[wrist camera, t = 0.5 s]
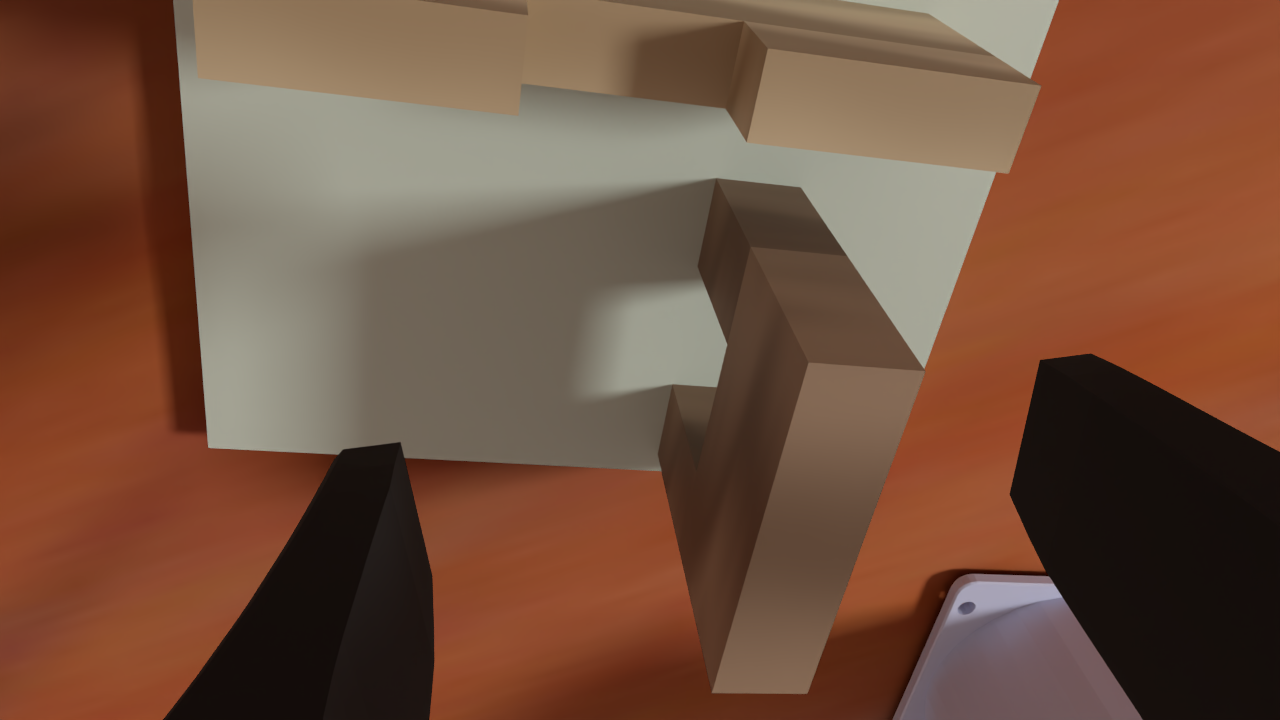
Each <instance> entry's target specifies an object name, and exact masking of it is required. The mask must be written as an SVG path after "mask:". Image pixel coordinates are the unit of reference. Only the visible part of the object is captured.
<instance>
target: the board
mask: <svg viewBox="0 0 1280 720" xmlns="http://www.w3.org/2000/svg"><path fill="white" fill-rule="evenodd" d="M841 1H847V2H854V3H861V4H867V5H874V6H881V7H888V8H894V9H901V10H908V11H914V12H921V13H928V14H930V15H931V16H933V17H935V18H936V19H938V20H939V21H941V22H942V23H944V24H946V25H947V26H949V27H950V28H952V29H953V30H955V31H956V32H958V33H960V34H961V35H963V36H964V37H966V38H967V39H969V40H970V41H972V42H974V43H975V44H977V45H978V46H980V47H981V48H983V49H985V50H986V51H988V52H989V53H991V54H992V55H994V56H995V57H997V58H999V59H1000V60H1002V61H1003V62H1005V63H1006V64H1008V65H1010V66H1011V67H1013V68H1014V69H1016V70H1017V71H1019V72H1020V73H1022V74H1024V75H1025V76H1027V77H1028V78H1031V75H1032V72H1033V70H1034V67H1035V64H1036V61H1037V59H1038V56H1039V53H1040V50H1041V48H1042V45H1043V42H1044V40H1045V37H1046V34H1047V31H1048V29H1049V26H1050V23H1051V20H1052V18H1053V15H1054V12H1055V9H1056V7H1057V4H1058V1H1059V0H841ZM173 5H174V17H175V30H176V43H177V56H178V68H179V81H180V94H181V106H182V119H183V132H184V145H185V157H186V170H187V183H188V196H189V208H190V221H191V234H192V246H193V259H194V272H195V285H196V297H197V310H198V323H199V335H200V348H201V361H202V374H203V386H204V399H205V412H206V425H207V437H208V448H221V449H240V450H260V451H279V452H299V453H318V454H339V453H340V452H341V451H342V450H343V449H350V448H358V447H365V446H373V445H381V444H389V443H397V442H401V446H402V450H403V454H404V458H416V459H435V460H455V461H474V462H494V463H513V464H533V465H553V466H572V467H592V468H611V469H631V470H650V471H661V467H660V463H659V458H658V450H659V445H660V441H661V436H662V431H663V426H664V422H665V417H666V412H667V408H668V403H669V398H670V393H671V389H672V384H677V385H691V386H706V387H717V385H718V381H719V377H720V372H721V368H722V364H723V360H724V356H725V352H726V347H727V343H726V340H725V337H724V335H723V332H722V329H721V327H720V324H719V322H718V319H717V316H716V314H715V311H714V309H713V306H712V303H711V301H710V298H709V295H708V293H707V290H706V288H705V285H704V282H703V280H702V277H701V275H700V272H699V269H698V267H697V266H698V262H699V257H700V252H701V247H702V243H703V238H704V233H705V229H706V224H707V219H708V214H709V210H710V205H711V200H712V196H713V191H714V186H715V181H716V178H720V179H729V180H739V181H748V182H757V183H766V184H775V185H784V186H793V187H801V188H802V190H803V191H804V193H805V194H806V196H807V197H808V199H809V200H810V202H811V203H812V205H813V206H814V208H815V209H816V211H817V212H818V213H819V215H820V216H821V218H822V219H823V221H824V222H825V224H826V225H827V227H828V228H829V230H830V231H831V233H832V234H833V236H834V237H835V239H836V240H837V241H838V243H839V244H840V246H841V247H842V249H843V250H844V252H845V253H846V255H847V256H848V258H849V259H850V261H851V262H852V264H853V265H854V267H855V268H856V270H857V271H858V272H859V274H860V275H861V277H862V278H863V280H864V281H865V283H866V284H867V286H868V287H869V289H870V290H871V292H872V293H873V295H874V296H875V298H876V299H877V300H878V302H879V303H880V305H881V306H882V308H883V309H884V311H885V312H886V314H887V315H888V317H889V318H890V320H891V321H892V323H893V324H894V326H895V327H896V329H897V330H898V331H899V333H900V334H901V336H902V337H903V339H904V340H905V342H906V343H907V345H908V346H909V348H910V349H911V351H912V352H913V354H914V355H915V357H916V358H917V359H918V361H919V362H920V364H921V365H922V367H923V368H925V366H926V363H927V360H928V357H929V355H930V352H931V349H932V346H933V344H934V341H935V338H936V335H937V333H938V330H939V327H940V324H941V322H942V319H943V316H944V313H945V311H946V308H947V305H948V303H949V300H950V297H951V294H952V292H953V289H954V286H955V283H956V281H957V278H958V275H959V272H960V270H961V267H962V264H963V261H964V259H965V256H966V253H967V250H968V248H969V245H970V242H971V240H972V237H973V234H974V231H975V229H976V226H977V223H978V220H979V218H980V215H981V212H982V209H983V207H984V204H985V201H986V198H987V196H988V193H989V190H990V187H991V185H992V182H993V179H994V177H995V174H996V172H992V171H983V170H975V169H966V168H958V167H949V166H941V165H932V164H924V163H915V162H907V161H898V160H890V159H881V158H873V157H864V156H856V155H847V154H839V153H830V152H822V151H813V150H805V149H796V148H788V147H779V146H771V145H762V144H754V143H747V142H746V141H745V139H744V137H743V136H742V134H741V133H740V131H739V129H738V128H737V126H736V125H735V123H734V121H733V120H732V118H731V116H730V115H729V113H728V112H727V110H726V109H724V108H716V107H708V106H699V105H691V104H683V103H675V102H667V101H659V100H651V99H643V98H635V97H627V96H619V95H611V94H603V93H595V92H586V91H578V90H570V89H562V88H554V87H546V86H538V85H530V84H522V85H521V95H520V105H519V115H518V116H516V115H507V114H499V113H490V112H482V111H473V110H465V109H456V108H448V107H439V106H431V105H422V104H414V103H405V102H397V101H388V100H380V99H371V98H363V97H354V96H346V95H337V94H329V93H320V92H312V91H303V90H295V89H286V88H278V87H269V86H261V85H252V84H244V83H235V82H227V81H218V80H210V79H201V78H198V73H197V58H196V44H195V29H194V15H193V0H173Z"/></svg>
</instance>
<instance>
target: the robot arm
mask: <svg viewBox="0 0 1280 720" xmlns="http://www.w3.org/2000/svg"><path fill="white" fill-rule="evenodd" d="M1010 496H1011V498H1012V501H1013V503H1014V505H1015V507H1016V510H1017V512H1018V514H1019V516H1020V518H1021V521H1022V523H1023V525H1024V527H1025V530H1026V532H1027V534H1028V536H1029V538H1030V540H1031V542H1032V544H1033V546H1034V548H1035V550H1036V552H1037V554H1038V556H1039V558H1040V561H1041V563H1042V565H1043V567H1044V569H1045V570H1046V572H1047V574H1048V575H1049V576H1025V575H995V574H966V575H964V576H961V577H959V578H958V579H957V580H955V582H954V583H953V584H952V586H951V588H950V590H949V592H948V595H947V597H946V599H945V601H944V604H943V606H942V608H941V611H940V613H939V615H938V617H937V620H936V622H935V624H934V626H933V629H932V631H931V633H930V636H929V638H928V640H927V642H926V645H925V647H924V649H923V651H922V654H921V656H920V658H919V661H918V663H917V665H916V667H915V670H914V672H913V674H912V676H911V679H910V681H909V683H908V686H907V688H906V690H905V692H904V695H903V697H902V699H901V701H900V704H899V706H898V708H897V710H896V713H895V715H894V717H893V720H1280V452H1279V451H1277V450H1275V449H1273V448H1271V447H1269V446H1267V445H1265V444H1263V443H1262V442H1260V441H1258V440H1256V439H1254V438H1252V437H1250V436H1248V435H1246V434H1245V433H1243V432H1241V431H1239V430H1237V429H1235V428H1233V427H1231V426H1230V425H1228V424H1226V423H1224V422H1222V421H1220V420H1218V419H1217V418H1215V417H1213V416H1211V415H1209V414H1207V413H1205V412H1204V411H1202V410H1200V409H1198V408H1196V407H1194V406H1193V405H1191V404H1189V403H1187V402H1185V401H1183V400H1181V399H1180V398H1178V397H1176V396H1174V395H1172V394H1170V393H1168V392H1167V391H1165V390H1163V389H1161V388H1159V387H1157V386H1155V385H1153V384H1152V383H1150V382H1148V381H1146V380H1144V379H1142V378H1140V377H1138V376H1136V375H1134V374H1132V373H1130V372H1129V371H1127V370H1125V369H1123V368H1121V367H1119V366H1117V365H1114V364H1112V363H1110V362H1108V361H1106V360H1104V359H1102V358H1099V357H1097V356H1095V355H1093V354H1084V355H1076V356H1068V357H1061V358H1053V359H1045V360H1040V363H1039V367H1038V372H1037V376H1036V381H1035V385H1034V389H1033V394H1032V398H1031V403H1030V407H1029V411H1028V416H1027V420H1026V425H1025V429H1024V434H1023V438H1022V442H1021V447H1020V451H1019V456H1018V460H1017V464H1016V469H1015V473H1014V478H1013V482H1012V487H1011V491H1010ZM963 603H964V604H963ZM433 671H434V617H433V583H432V573H431V569H430V564H429V560H428V556H427V552H426V547H425V543H424V539H423V535H422V530H421V526H420V522H419V518H418V513H417V509H416V505H415V501H414V497H413V492H412V488H411V484H410V480H409V475H408V471H407V467H406V463H405V458H404V454H403V450H402V446H401V442H397V443H389V444H381V445H373V446H365V447H358V448H350V449H343V450H342V451H341V452H340V453H339V454H338V456H337V457H336V458H335V459H334V461H333V463H332V464H331V466H330V468H329V470H328V472H327V474H326V476H325V477H324V479H323V481H322V483H321V485H320V487H319V488H318V490H317V492H316V494H315V496H314V497H313V499H312V501H311V503H310V504H309V506H308V508H307V510H306V511H305V513H304V515H303V517H302V518H301V520H300V522H299V523H298V525H297V527H296V528H295V530H294V532H293V534H292V535H291V537H290V539H289V540H288V542H287V544H286V545H285V547H284V549H283V550H282V552H281V553H280V555H279V556H278V558H277V560H276V561H275V563H274V564H273V566H272V567H271V569H270V571H269V572H268V574H267V575H266V577H265V578H264V580H263V582H262V583H261V585H260V586H259V588H258V589H257V591H256V593H255V594H254V596H253V597H252V599H251V600H250V602H249V603H248V605H247V606H246V608H245V609H244V611H243V612H242V614H241V615H240V617H239V618H238V619H237V621H236V622H235V624H234V625H233V626H232V628H231V629H230V631H229V632H228V633H227V635H226V636H225V638H224V639H223V640H222V642H221V643H220V645H219V646H218V647H217V649H216V650H215V652H214V653H213V654H212V656H211V657H210V659H209V660H208V661H207V663H206V664H205V665H204V667H203V668H202V670H201V671H200V672H199V674H198V675H197V677H196V678H195V679H194V681H193V682H192V683H191V685H190V686H189V687H188V688H187V690H186V691H185V692H184V694H183V695H182V696H181V697H180V699H179V700H178V701H177V703H176V704H175V705H174V706H173V708H172V709H171V710H170V712H169V713H168V714H167V715H166V717H165V718H164V719H163V720H429V716H430V705H431V694H432V683H433Z"/></svg>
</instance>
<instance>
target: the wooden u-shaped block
mask: <svg viewBox="0 0 1280 720" xmlns="http://www.w3.org/2000/svg"><path fill="white" fill-rule="evenodd" d="M193 15H194V29H195V44H196V58H197V73H198V78H201V79H210V80H218V81H227V82H235V83H244V84H252V85H261V86H269V87H278V88H286V89H295V90H303V91H312V92H320V93H329V94H337V95H346V96H354V97H363V98H371V99H380V100H388V101H397V102H405V103H414V104H422V105H431V106H439V107H448V108H456V109H465V110H473V111H482V112H490V113H499V114H507V115H516V116H518V115H519V105H520V95H521V85H522V84H530V85H538V86H546V87H554V88H562V89H570V90H578V91H586V92H595V93H603V94H611V95H619V96H627V97H635V98H643V99H651V100H659V101H667V102H675V103H683V104H691V105H699V106H708V107H716V108H724V109H726V110H727V112H728V113H729V115H730V116H731V118H732V120H733V121H734V123H735V125H736V126H737V128H738V129H739V131H740V133H741V134H742V136H743V137H744V139H745V141H746V142H747V143H754V144H762V145H771V146H779V147H788V148H796V149H805V150H813V151H822V152H830V153H839V154H847V155H856V156H864V157H873V158H881V159H890V160H898V161H907V162H915V163H924V164H932V165H941V166H949V167H958V168H966V169H975V170H983V171H992V172H1000V173H1009V171H1010V168H1011V166H1012V163H1013V160H1014V158H1015V155H1016V152H1017V150H1018V147H1019V144H1020V142H1021V139H1022V136H1023V133H1024V131H1025V128H1026V125H1027V123H1028V120H1029V117H1030V115H1031V112H1032V109H1033V107H1034V104H1035V101H1036V99H1037V96H1038V93H1039V90H1040V88H1041V85H1039V84H1038V83H1036V82H1035V81H1033V80H1031V79H1030V78H1028V77H1027V76H1025V75H1024V74H1022V73H1020V72H1019V71H1017V70H1016V69H1014V68H1013V67H1011V66H1010V65H1008V64H1006V63H1005V62H1003V61H1002V60H1000V59H999V58H997V57H995V56H994V55H992V54H991V53H989V52H988V51H986V50H985V49H983V48H981V47H980V46H978V45H977V44H975V43H974V42H972V41H970V40H969V39H967V38H966V37H964V36H963V35H961V34H960V33H958V32H956V31H955V30H953V29H952V28H950V27H949V26H947V25H946V24H944V23H942V22H941V21H939V20H938V19H936V18H935V17H933V16H931V15H930V14H928V13H921V12H914V11H908V10H901V9H894V8H888V7H881V6H874V5H867V4H861V3H854V2H847V1H841V0H193Z"/></svg>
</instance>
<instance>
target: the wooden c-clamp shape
mask: <svg viewBox="0 0 1280 720" xmlns="http://www.w3.org/2000/svg"><path fill="white" fill-rule="evenodd" d="M697 267H698V269H699V272H700V275H701V277H702V280H703V282H704V285H705V288H706V290H707V293H708V295H709V298H710V301H711V303H712V306H713V309H714V311H715V314H716V316H717V319H718V322H719V324H720V327H721V329H722V332H723V335H724V337H725V340H726V343H727V347H726V352H725V356H724V360H723V364H722V368H721V372H720V377H719V381H718V385H717V387H706V386H691V385H677V384H672V389H671V393H670V398H669V403H668V408H667V412H666V417H665V422H664V426H663V431H662V436H661V441H660V445H659V450H658V458H659V463H660V467H661V471H662V476H663V480H664V485H665V489H666V493H667V498H668V502H669V507H670V511H671V515H672V520H673V524H674V529H675V533H676V537H677V542H678V546H679V551H680V555H681V559H682V564H683V568H684V573H685V577H686V582H687V586H688V590H689V595H690V599H691V604H692V608H693V612H694V617H695V621H696V626H697V630H698V634H699V639H700V643H701V648H702V652H703V656H704V661H705V665H706V670H707V674H708V678H709V683H710V687H711V692H712V693H754V694H807V693H808V691H809V688H810V685H811V682H812V680H813V677H814V674H815V672H816V669H817V666H818V663H819V661H820V658H821V655H822V652H823V650H824V647H825V644H826V642H827V639H828V636H829V633H830V631H831V628H832V625H833V622H834V620H835V617H836V614H837V611H838V609H839V606H840V603H841V601H842V598H843V595H844V592H845V590H846V587H847V584H848V581H849V579H850V576H851V573H852V571H853V568H854V565H855V562H856V560H857V557H858V554H859V551H860V549H861V546H862V543H863V541H864V538H865V535H866V532H867V530H868V527H869V524H870V521H871V519H872V516H873V513H874V510H875V508H876V505H877V502H878V500H879V497H880V494H881V491H882V489H883V486H884V483H885V480H886V478H887V475H888V472H889V470H890V467H891V464H892V461H893V459H894V456H895V453H896V450H897V448H898V445H899V442H900V439H901V437H902V434H903V431H904V429H905V426H906V423H907V420H908V418H909V415H910V412H911V409H912V407H913V404H914V401H915V399H916V396H917V393H918V390H919V388H920V385H921V382H922V379H923V377H924V374H925V370H924V368H923V367H922V365H921V364H920V362H919V361H918V359H917V358H916V357H915V355H914V354H913V352H912V351H911V349H910V348H909V346H908V345H907V343H906V342H905V340H904V339H903V337H902V336H901V334H900V333H899V331H898V330H897V329H896V327H895V326H894V324H893V323H892V321H891V320H890V318H889V317H888V315H887V314H886V312H885V311H884V309H883V308H882V306H881V305H880V303H879V302H878V300H877V299H876V298H875V296H874V295H873V293H872V292H871V290H870V289H869V287H868V286H867V284H866V283H865V281H864V280H863V278H862V277H861V275H860V274H859V272H858V271H857V270H856V268H855V267H854V265H853V264H852V262H851V261H850V259H849V258H848V256H847V255H846V253H845V252H844V250H843V249H842V247H841V246H840V244H839V243H838V241H837V240H836V239H835V237H834V236H833V234H832V233H831V231H830V230H829V228H828V227H827V225H826V224H825V222H824V221H823V219H822V218H821V216H820V215H819V213H818V212H817V211H816V209H815V208H814V206H813V205H812V203H811V202H810V200H809V199H808V197H807V196H806V194H805V193H804V191H803V190H802V188H801V187H793V186H784V185H775V184H766V183H757V182H748V181H739V180H729V179H720V178H716V181H715V186H714V191H713V196H712V200H711V205H710V210H709V214H708V219H707V224H706V229H705V233H704V238H703V243H702V247H701V252H700V257H699V262H698V266H697Z"/></svg>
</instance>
